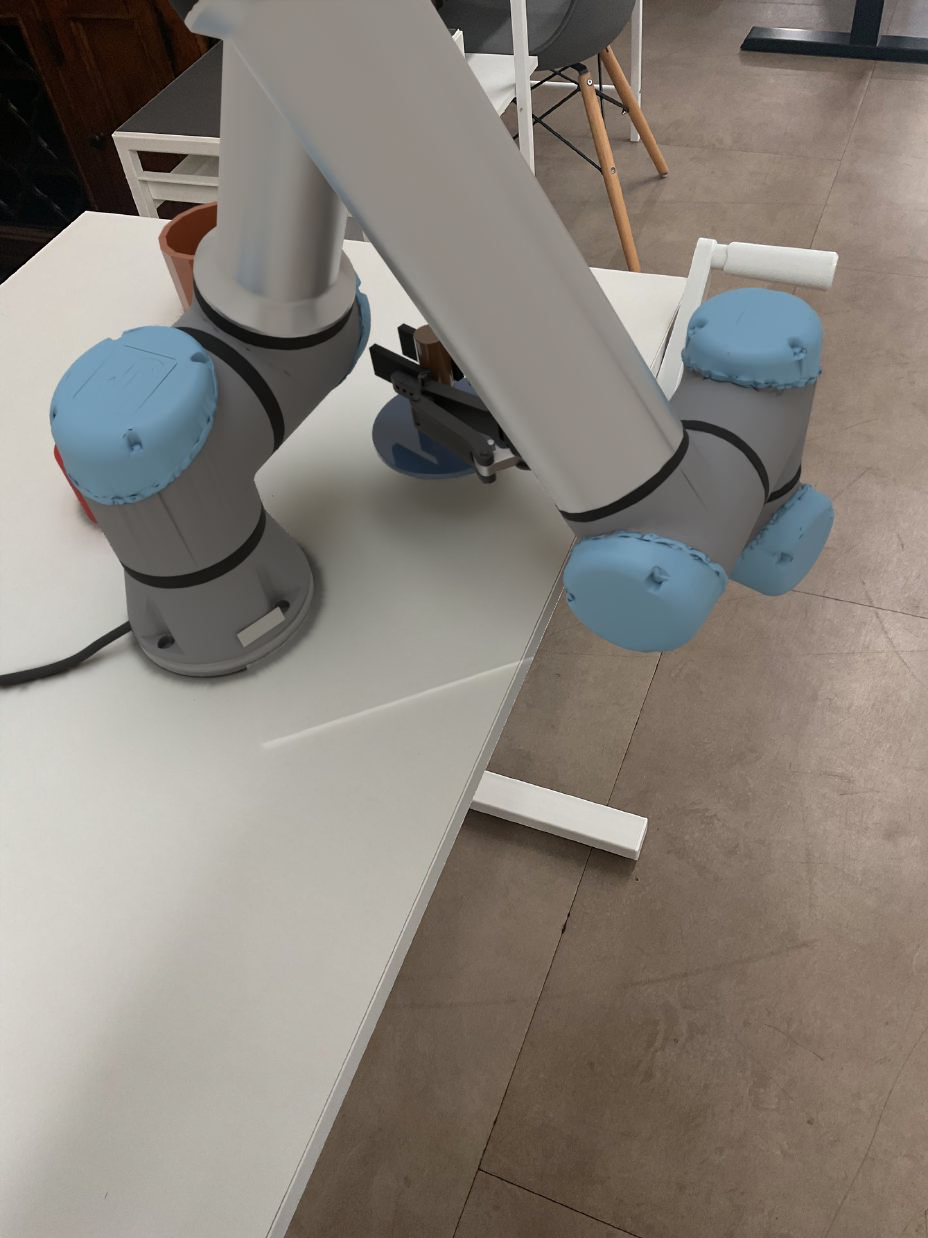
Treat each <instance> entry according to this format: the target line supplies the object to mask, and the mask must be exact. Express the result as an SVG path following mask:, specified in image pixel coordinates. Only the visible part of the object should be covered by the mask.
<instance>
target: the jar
mask: <svg viewBox="0 0 928 1238" xmlns="http://www.w3.org/2000/svg"><path fill="white" fill-rule="evenodd" d="M217 204H218V200H215V201H210V202H207V203H204V204H199V205H196V206H193V207H191V208H189V209H187V210H185V211H183V212H181V213H179V214H177V215H176V216H175V217H173V218H172V219H171V220H170V221H169V222H168V223H166V224H165V225H164V226H163V228H162V230H161V232H160V233H159V236H158V237H157V239H158V244H159V249H160V252H161V254H162V258H163V259H164V262H165V265H166V267H167V270H168V273H169V276H170V278H171V281H172V284H173V286H174V289H175V291H176V294H177V297H178V299H179V301H180V304H181V307H182V309H183V313H184V314H185V313H186V312H187V311H188V310H189V308H190V306H191V304H192V300H193V266H194V256H195V253H196V250H197V248H198V245H199V243H200V242H201V240H202V239H203V237H204V236H205V235H206V234H207V233H208V232H209V231H211V230H212V229H214V228H215V227H216V226H217Z"/></svg>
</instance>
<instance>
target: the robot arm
mask: <svg viewBox="0 0 928 1238" xmlns="http://www.w3.org/2000/svg"><path fill="white" fill-rule="evenodd" d="M167 1H168V2H169V4H170V5H171V7H172V8H173V10H174V11H175V13H176V14H177V15H178V17H179V18H180V19H181V21H182V22H183V23H184V25H185V26H186V28H187V29H188V30H189V31H190V32H191V33H193V34H197V35H202V36H207V37H210V38H215V39H219V40H222V41H223V42H222V43H223V44H222V65H221V66H222V67H221V68H222V69H221V70H222V71H221V97H220V124H219V125H220V126H219V128H220V129H219V150H218V152H219V153H218V182H217V201H218V204H217V226H216V227H215V228H214V229H212V230H211V231H209V232H208V233H207V234H206V235H205V236H204V237H203V239H202V240H201V242H200V243H199V245H198V248H197V250H196V253H195V256H194V266H193V300H192V304H191V306H190V308H189V310H188V311H187V312H186V313H185V312H184V314H183V315H181V316H180V318H178V319H177V320H176V321H175V322H174V323H172V324H171V326H167V325H146V326H145V325H144V326H138V327H134V328H130V329H127V330H123V331H122V333H121V336H120V337H118V338H117V339H112V338H111V337H106V338H104V339H102V340H100V341H99V342H98V343H96V344H94V345H93V346H91V347H90V348H89V349H87V350H85V351H84V352H83V354H81V355H80V356H78V358H77V359H76V360H75V361H74V362H73V363H72V364H70V366H69V368H68V369H67V370H66V371H65V372H64V373H63V375H62V376H61V378H60V380H59V381H58V383H57V385H56V387H55V389H54V391H53V394H52V397H51V400H50V406H49V414H48V416H49V425H50V433H51V436H52V438H53V439H52V440H53V441H54V445H55V444H56V446H57V448H58V451H59V453H60V455H61V458H62V460H63V463H64V468H65V470H66V473H67V475H68V477H69V479H70V480H71V481H72V483H73V485H74V486H75V487H76V488H77V489H78V490H79V491H80V493H81V494H82V496H83V498H84V500H85V501H86V503H87V505H88V507H89V508H90V510H91V512H92V514H93V515H94V517H95V519H96V521H97V522H98V524H97V525H98V526H99V528H100V529H101V531H102V533H103V535H104V537H105V538H106V540H107V542H108V544H109V545H110V547H111V548H112V551H113V552H114V554H115V556H116V557H117V560H118V561H119V563H120V565H121V566H122V568H123V576H124V587H125V588H124V589H125V599H126V611H127V618H128V620H127V621H126V622H124V623H122V624H120V625H119V626H117V627H115V628H113V629H111V630H110V631H108V632H106V633H105V634H103V635H102V636H100V637H99V638H97V639H96V640H94V641H92V642H91V643H90V644H89V645H87V646H86V647H84V648H83V649H82V650H80V651H77V652H76V653H75V654H73V655H70V656H69V657H65V658H63V659H61V660H58V661H55V662H52V663H48V664H46V665H42V666H39V667H34V668H30V669H26V670H20V671H14V672H10V673H9V672H8V673H5V674H4V673H3V674H0V686H5V685H9V684H10V685H11V684H15V683H20V682H26V681H30V680H34V679H35V680H36V679H39V678H42V677H46V676H51V675H53V674H56V673H59V672H62V671H64V670H67V669H70V668H72V667H75V666H77V665H79V664H81V663H83V662H84V661H86V660H88V659H89V658H91V657H92V656H93V655H95V654H96V653H98V652H99V651H101V650H102V649H104V648H105V647H107V646H108V645H110V644H112V643H113V642H115V641H117V640H119V639H120V638H122V637H123V636H125V635H126V634H128V633H130V632H132V634H133V636H134V638H135V639H136V641H137V643H138V645H139V646H140V648H141V650H142V651H143V653H144V654H145V655H146V656H147V657H148V658H149V659H150V660H151V661H152V662H153V663H155V664H156V665H158V666H159V667H161V668H163V669H165V670H167V671H170V672H173V673H175V674H180V675H183V676H189V677H216V676H223V675H229V674H233V673H236V672H239V671H242V670H245V669H247V668H248V667H247V666H248V665H250V664H253V663H255V662H258V661H259V660H261V659H263V658H265V657H267V656H269V655H270V654H271V653H273V652H275V651H276V650H277V649H279V648H280V647H281V646H282V645H284V644H285V643H286V642H287V641H288V640H289V639H290V638H291V637H292V636H293V635H294V634H295V632H297V630H298V629H299V628H300V626H301V625H302V623H303V622H304V620H305V618H306V617H307V615H308V613H309V611H310V608H311V606H312V602H313V597H314V593H315V592H314V590H315V583H314V577H313V571H312V569H311V566H310V563H309V561H308V558H307V555H306V554H305V552H304V551H303V550H302V548H301V546H300V545H299V544H298V543H297V541H296V540H295V539H294V537H292V536H291V535H290V534H289V533H288V532H287V531H286V530H285V529H284V528H283V527H282V526H281V524H279V522H278V521H277V520H276V519H275V518H274V517H273V516H272V515H271V514H270V513H269V512H268V511H267V510H266V509H265V506H264V504H263V501H262V499H261V495H260V493H259V490H258V487H257V484H256V481H255V478H256V475H257V473H258V472H259V471H260V469H261V468H262V467H263V466H264V465H265V464H266V463H267V462H268V461H269V460H270V459H271V457H273V455H274V454H275V453H276V452H277V451H278V450H279V449H280V447H281V446H282V445H284V443H285V442H286V441H287V440H288V438H290V436H292V434H293V433H294V432H295V431H296V430H297V429H298V428H299V427H300V426H301V425H302V423H303V422H304V421H305V420H306V419H307V418H308V417H309V416H310V415H311V414H312V413H313V412H314V410H315V409H317V408H318V406H319V405H320V404H321V403H322V402H323V401H324V400H325V399H326V397H327V396H329V395H330V393H331V392H332V391H334V390H335V389H337V387H339V386H340V385H341V384H342V383H343V382H344V381H346V379H347V377H348V376H349V375H350V374H351V373H352V372H353V371H354V369H355V368H356V365H357V363H358V362H359V359H361V357H362V355H363V353H364V352H365V349H366V348H367V345H368V342H369V339H370V335H371V330H372V313H371V306H370V305H371V304H370V302H369V301H370V300H369V298H368V295H367V294H366V293H364V292H361V290H360V288H359V287H360V286H361V284H362V281H361V278H360V277H359V275H358V273H357V271H356V270H355V268H354V266H353V264H352V262H351V260H350V258H349V256H348V255H347V253H346V252H345V251H344V249H343V247H344V240H345V235H346V229H347V223H348V218H349V214H350V215H351V217H352V219H354V221H355V222H356V224H357V226H358V227H359V228H360V230H361V231H362V232H363V234H364V235H365V237H366V238H367V240H368V241H369V242H370V244H371V245H372V247H373V248H374V250H375V251H376V252H377V254H378V255H379V257H380V258H381V259H382V261H383V262H384V263H385V265H386V267H387V268H388V269H389V271H390V273H392V275H393V276H394V278H395V279H396V280H397V282H398V283H399V285H400V286H401V288H402V289H403V290H404V292H405V293H406V295H407V296H408V298H409V299H410V301H411V302H412V303H413V304H414V306H415V307H416V310H418V312H419V313H420V315H421V316H422V317H423V319H424V320H425V322H426V324H429V326H430V327H431V329H432V330H433V332H434V333H435V334H436V336H437V337H438V339H439V340H440V341H441V343H442V344H443V346H444V347H445V349H446V350H447V351H448V353H449V354H450V357H451V363H452V370H453V376H454V380H455V381H457V382H459V381H460V380H461V379H462V378H467V380H468V383H469V385H470V386H471V385H472V387H473V388H474V390H475V391H476V392H477V394H478V395H479V396H476V395H473V394H470V393H467V392H465V391H462V390H459V389H456V388H453V387H450V386H448V385H445V384H442V383H439V382H436V381H434V380H433V374H432V371H431V370H429V369H427V368H425V367H423V366H421V365H419V363H418V358H417V353H416V347H415V342H414V333H415V331H416V330H417V329H418V328H415V327H413V326H411V325H408V324H406V323H405V322H403V323H401V324H400V325H398V326H397V333H398V339H399V343H400V344H399V345H400V349H401V354H402V355H401V354H398V353H396V352H394V351H392V350H390V349H388V348H386V347H385V346H382V345H380V344H378V343H376V342H375V343H373V344H371V345H370V346H369V347H368V351H369V355H370V360H371V364H372V368H373V373H374V375H375V376H376V377H378V378H380V379H382V380H384V381H386V382H387V383H390V384H391V385H392V389H393V391H394V393H396V395H398V394H399V395H401V396H403V397H405V398H407V399H409V403H410V409H411V414H412V418H413V423H414V427H415V428H417V429H418V430H420V431H421V432H422V433H424V434H425V435H427V436H428V437H430V438H431V439H433V440H434V441H436V442H437V443H438V444H440V445H441V446H443V447H444V448H446V449H447V450H449V451H450V452H451V453H453V454H454V455H456V456H457V457H459V458H460V459H462V460H463V461H464V462H466V463H467V464H469V465H470V466H472V467H473V468H474V470H475V472H476V476H478V479H479V480H480V482H482V483H483V484H486V485H490V484H493V483H495V482H496V481H497V472H501V471H504V470H507V469H509V468H512V467H515V468H517V469H519V470H521V471H530V472H532V474H533V475H534V476H535V478H536V479H537V481H538V482H539V484H540V485H541V486H542V488H543V489H544V491H545V492H546V493H547V495H548V496H549V498H550V499H551V501H552V502H553V503H554V506H555V507H556V510H558V512H559V513H560V514H561V517H562V518H563V520H564V521H565V522H566V524H567V526H568V527H569V529H570V530H571V531H572V533H573V534H574V536H575V537H576V538H577V543H576V544H575V545H574V546H573V547H571V550H570V552H569V554H570V556H569V559H568V562H567V564H566V566H565V568H564V571H563V575H562V582H563V587H564V591H565V601H566V603H567V604H568V607H569V609H570V610H571V612H572V613H573V615H574V616H575V617H576V618H577V619H578V621H580V623H581V624H582V625H584V626H585V627H586V628H587V629H588V630H589V631H590V632H592V633H593V634H595V635H596V636H597V637H599V638H601V639H602V640H604V641H606V642H608V643H609V644H612V645H613V646H617V647H619V648H621V649H625V650H628V651H633V652H637V653H644V654H649V653H650V654H651V653H655V652H657V653H662V652H663V653H665V652H670V651H674V650H677V649H679V648H682V647H683V646H685V645H687V644H688V643H689V642H690V641H692V640H693V638H694V637H695V636H697V634H698V633H699V631H700V630H701V628H702V627H703V625H704V623H705V621H706V620H707V618H708V617H709V615H710V614H711V612H712V610H713V609H714V607H715V606H716V604H717V602H718V601H719V599H720V598H721V597H722V596H723V595H724V593H725V592H726V590H727V587H728V584H729V580H730V581H732V582H735V583H737V584H740V585H741V586H744V587H746V588H748V589H751V590H753V591H755V592H758V593H759V594H762V595H764V596H767V597H779V596H784V595H785V594H788V593H789V592H791V591H792V590H793V589H795V588H796V587H797V586H798V585H799V584H800V583H801V582H802V581H803V579H805V578H806V576H807V575H808V574H809V572H810V571H811V570H812V569H813V567H814V565H815V563H816V562H817V560H818V559H819V558H820V555H821V553H822V552H823V550H824V548H825V546H826V543H827V541H828V539H829V536H830V535H831V531H832V528H833V524H834V519H835V511H834V506H833V503H832V500H831V498H830V497H829V496H827V495H826V494H824V493H823V492H821V491H819V490H817V489H815V488H814V487H813V485H812V484H811V483H805V482H804V483H803V482H801V476H802V470H803V469H802V468H803V467H802V466H803V465H802V460H803V454H804V449H805V444H806V439H807V434H808V429H809V425H810V424H809V423H810V419H811V414H812V410H813V404H814V399H815V395H816V389H817V384H818V379H820V378H821V376H822V373H823V368H822V366H821V360H822V349H823V342H824V341H823V340H824V327H823V324H822V321H821V318H820V316H819V314H818V313H817V312H816V311H815V309H814V308H813V307H812V306H811V305H809V303H807V302H806V301H804V300H803V299H802V298H800V297H798V296H796V295H793V294H791V293H789V292H786V291H782V290H781V291H777V290H773V289H767V288H765V287H743V288H736V289H731V290H727V291H723V292H720V293H718V294H716V295H713V296H712V297H710V298H708V299H707V300H705V301H704V302H703V303H701V304H700V305H699V306H698V307H697V308H696V309H695V310H694V312H693V313H692V315H691V316H690V318H689V320H688V323H687V328H686V335H685V342H684V347H683V348H682V350H681V351H680V357H681V361H682V366H683V368H682V375H681V378H680V382H679V384H678V386H677V388H676V389H675V391H674V392H673V394H672V395H671V397H670V398H669V399H668V397H667V396H666V394H665V393H664V391H663V389H662V388H661V387H662V386H660V384H659V382H658V381H657V379H656V377H655V376H654V374H653V372H652V371H651V369H650V367H649V366H648V364H647V362H646V360H645V359H644V357H643V356H642V354H641V351H640V350H639V349H638V347H637V345H636V344H635V342H634V340H633V339H632V337H631V335H630V334H629V332H628V330H627V328H626V327H625V325H624V323H623V322H622V320H621V319H620V316H619V315H618V314H617V311H616V310H615V308H614V307H613V305H612V303H611V302H610V300H609V298H608V297H607V295H606V293H605V291H604V290H603V288H602V286H601V285H600V283H599V281H598V279H597V278H596V276H595V275H594V273H593V271H592V269H591V268H590V266H589V265H588V263H587V261H586V260H585V258H584V256H583V255H582V253H581V251H580V250H579V248H578V245H576V242H575V241H574V239H573V237H572V236H571V234H570V232H569V231H568V229H567V228H566V225H565V223H563V221H562V219H561V218H560V216H559V214H558V213H557V211H556V209H555V207H554V206H553V204H552V203H551V201H550V199H549V197H548V196H547V194H546V192H545V191H544V189H543V187H542V185H541V184H540V182H539V181H538V179H537V177H536V175H535V174H534V172H533V170H532V169H531V167H530V166H529V164H528V161H526V159H525V157H524V156H523V153H522V152H521V150H520V149H519V147H518V145H517V144H516V142H515V140H514V138H513V137H512V135H511V133H510V132H509V129H507V127H506V125H505V124H504V122H503V120H502V118H501V116H500V115H499V113H498V111H497V110H496V108H495V106H494V104H493V103H492V101H491V99H490V97H488V95H487V93H486V91H485V89H484V88H483V86H482V84H481V83H480V81H479V79H478V77H477V76H476V74H475V73H474V71H473V69H472V68H471V66H470V65H469V64H470V63H468V61H467V60H466V57H465V56H464V55H463V52H462V51H461V49H460V48H459V46H458V44H457V42H456V41H455V39H454V38H453V36H452V34H451V32H450V31H449V29H448V28H447V25H446V24H445V22H444V21H443V19H442V18H441V16H440V14H439V13H438V11H437V9H436V7H435V5H434V4H433V2H432V0H167ZM410 359H411V360H410ZM478 432H479V433H478ZM480 433H482V434H485V435H487V436H490V437H491V438H492V440H488V441H486V439H485V438H484V437H483V436H482V435H481V434H480ZM495 443H496V444H499V445H501V446H504V447H507V449H502V448H500V447H498V446H497V445H495Z"/></svg>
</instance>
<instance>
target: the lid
mask: <svg viewBox="0 0 928 1238" xmlns="http://www.w3.org/2000/svg"><path fill="white" fill-rule="evenodd" d="M416 329H417V330H416V331H415V333H414V342H415V347H416V353H417V358H418V362H417V364H419V365H421V366H423V367H425V368H427V369H429V370H431V371H432V374H433V380H434V381H436V382H439V383H442V384H445V385H448V386H450V387H453V388H456V389H459V390H462V391H465V392H467V393H470V394H473V395H476V396H479V395H478V394H477V392H476V391H475V390H474V388H473V387H472V385H471V386H470V385H469V383H468V380H467V378H466V377H464V378H462V379H461V380H460V381H459V382H457V381H455V380H454V376H453V370H452V363H451V357H450V354H449V353H448V351H447V350H446V349H445V347H444V346H443V344H442V343H441V341H440V340H439V339H438V337H437V336H436V334H435V333H434V332H433V330H432V329H431V327H430V326H429V324H428V323H426V324H424V325H421V326H419V327H417V328H416ZM478 433H479V432H478ZM480 434H481V435H482V436H483V437H484V438H485V439H486V441H488V440H492V438H491V437H490V436H487V435H485V434H482V433H480ZM371 439H372V444H373V448H374V450H375V452H376V455H377V456H378V457H379V459H380V460H381V462H382V463H384V464H385V465H386V466H387V467H389V468H390V469H392V470H393V471H395V472H396V473H399V474H400V475H401V474H402V475H404V476H406V477H409V478H413V479H420V480H427V481H442V480H443V481H444V480H453V479H458V478H462V477H467V476H470V475H473V474H475V473H476V472H475V470H474V468H473V467H472V466H470V465H469V464H467V463H466V462H464V461H463V460H462V459H460V458H459V457H457V456H456V455H454V454H453V453H451V452H450V451H449V450H447V449H446V448H444V447H443V446H441V445H440V444H438V443H437V442H436V441H434V440H433V439H431V438H430V437H428V436H427V435H425V434H424V433H422V432H421V431H420V430H418V429H417V428H415V427H414V423H413V418H412V414H411V409H410V403H409V399H407V398H405V397H403V396H401V395H399V394H396V395H394V396H393V397H392V398H391V399H389V401H387V402H386V403H385V404H384V406H383V407H381V409H380V411H378V413H377V415H376V417H375V419H374V421H373V424H372V429H371ZM495 445H497V446H498V447H500V448H502V449H507V447H504V446H501V445H499V444H496V443H495ZM476 474H477V473H476Z"/></svg>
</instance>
